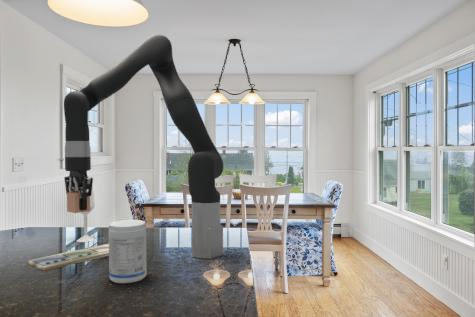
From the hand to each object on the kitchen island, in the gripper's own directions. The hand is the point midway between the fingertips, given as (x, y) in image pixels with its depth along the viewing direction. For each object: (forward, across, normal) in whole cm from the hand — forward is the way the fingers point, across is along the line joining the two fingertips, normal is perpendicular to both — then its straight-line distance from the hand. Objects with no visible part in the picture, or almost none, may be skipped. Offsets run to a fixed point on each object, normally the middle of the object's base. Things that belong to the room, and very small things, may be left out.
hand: (78, 209), depth 121 cm
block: (+1, 0, 0) cm, 1 cm away
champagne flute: (+16, +21, -13) cm, 29 cm away
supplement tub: (+16, -30, +2) cm, 34 cm away
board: (+15, 0, 0) cm, 15 cm away
